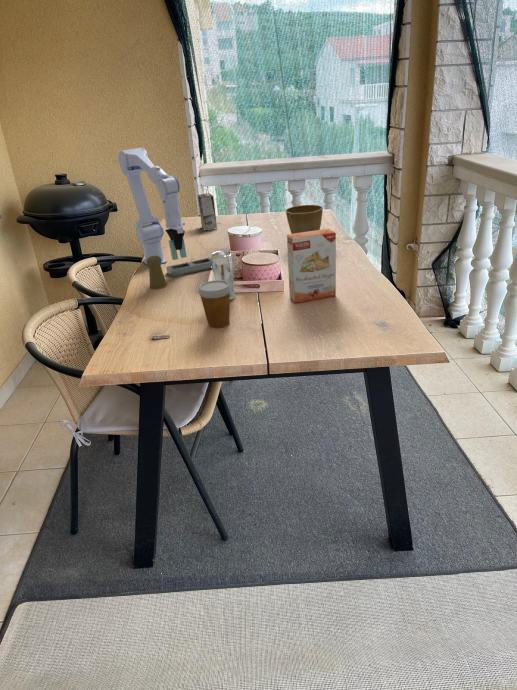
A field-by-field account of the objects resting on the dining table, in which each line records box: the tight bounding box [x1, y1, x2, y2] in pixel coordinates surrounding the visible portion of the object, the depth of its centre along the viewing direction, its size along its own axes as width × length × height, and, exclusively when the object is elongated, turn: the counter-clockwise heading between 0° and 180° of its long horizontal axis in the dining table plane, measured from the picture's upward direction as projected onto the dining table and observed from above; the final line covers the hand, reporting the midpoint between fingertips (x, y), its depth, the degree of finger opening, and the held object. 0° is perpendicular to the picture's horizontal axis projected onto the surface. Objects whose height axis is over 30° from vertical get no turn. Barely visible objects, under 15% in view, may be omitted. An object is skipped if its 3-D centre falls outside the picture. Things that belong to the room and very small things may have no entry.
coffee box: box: [197, 192, 218, 231], centre depth 254 cm, size 9×6×16 cm
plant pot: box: [285, 204, 324, 234], centre depth 212 cm, size 15×15×16 cm
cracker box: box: [286, 228, 337, 304], centre depth 161 cm, size 14×6×21 cm, turn 105°
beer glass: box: [211, 250, 237, 301], centre depth 168 cm, size 7×7×15 cm
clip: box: [168, 238, 188, 261], centre depth 195 cm, size 2×5×7 cm, turn 116°
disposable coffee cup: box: [197, 279, 231, 329], centre depth 151 cm, size 10×10×12 cm
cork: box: [146, 256, 167, 290], centre depth 185 cm, size 6×6×11 cm
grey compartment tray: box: [166, 257, 212, 278], centre depth 200 cm, size 6×18×2 cm, turn 116°
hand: (177, 248), depth 195 cm, fingers closed on clip, 2 cm apart
